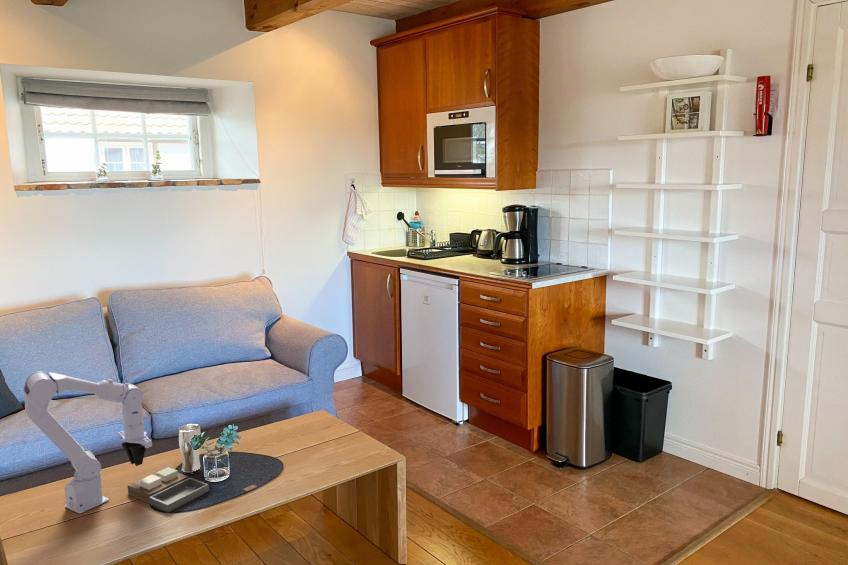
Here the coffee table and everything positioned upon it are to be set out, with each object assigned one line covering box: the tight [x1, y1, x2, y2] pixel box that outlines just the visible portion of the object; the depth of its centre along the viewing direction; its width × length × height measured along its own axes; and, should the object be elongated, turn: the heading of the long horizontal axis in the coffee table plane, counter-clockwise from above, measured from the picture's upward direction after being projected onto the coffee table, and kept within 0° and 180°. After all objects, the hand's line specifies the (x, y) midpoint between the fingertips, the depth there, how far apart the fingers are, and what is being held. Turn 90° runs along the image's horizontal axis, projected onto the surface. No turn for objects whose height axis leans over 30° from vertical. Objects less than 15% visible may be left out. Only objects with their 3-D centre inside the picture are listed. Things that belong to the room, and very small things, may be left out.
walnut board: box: [127, 469, 189, 504], centre depth 206 cm, size 14×11×3 cm
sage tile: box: [155, 466, 179, 482], centre depth 208 cm, size 4×4×2 cm
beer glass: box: [178, 423, 202, 473], centre depth 218 cm, size 7×7×15 cm
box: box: [148, 477, 210, 513], centre depth 200 cm, size 15×9×2 cm, turn 148°
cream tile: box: [139, 473, 162, 490], centre depth 203 cm, size 4×4×2 cm
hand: (136, 463), depth 205 cm, fingers closed
